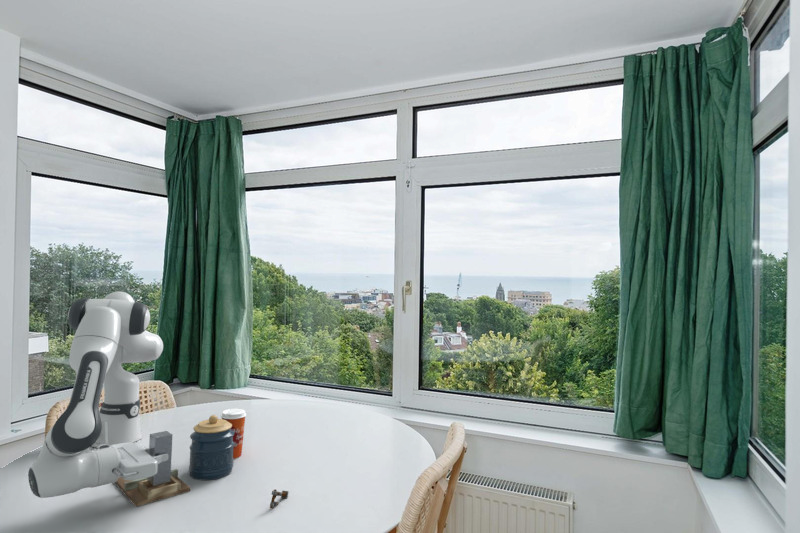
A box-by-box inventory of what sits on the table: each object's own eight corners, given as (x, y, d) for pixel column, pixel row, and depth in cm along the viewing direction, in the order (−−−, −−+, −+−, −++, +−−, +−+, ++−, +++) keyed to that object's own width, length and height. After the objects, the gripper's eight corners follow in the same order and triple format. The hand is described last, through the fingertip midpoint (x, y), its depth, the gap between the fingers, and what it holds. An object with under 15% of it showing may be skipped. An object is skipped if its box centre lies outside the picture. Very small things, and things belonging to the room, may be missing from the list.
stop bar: (153, 486, 129) (155, 438, 130) (147, 481, 132) (149, 434, 133) (170, 481, 132) (172, 434, 133) (164, 476, 136) (166, 430, 136)
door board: (136, 506, 125) (136, 495, 125) (114, 482, 139) (114, 471, 139) (190, 490, 135) (190, 480, 135) (164, 469, 149) (165, 459, 149)
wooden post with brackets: (266, 507, 125) (270, 488, 126) (279, 507, 132) (283, 489, 133) (272, 508, 124) (276, 489, 126) (285, 508, 131) (288, 490, 133)
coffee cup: (236, 461, 157) (238, 415, 157) (214, 458, 158) (216, 413, 159) (249, 452, 165) (251, 409, 165) (228, 450, 167) (229, 407, 167)
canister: (206, 484, 139) (208, 424, 139) (179, 474, 146) (181, 416, 146) (242, 470, 150) (244, 414, 150) (215, 461, 157) (217, 407, 157)
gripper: (119, 465, 116) (178, 452, 126) (98, 443, 131) (151, 433, 141) (118, 491, 116) (177, 476, 126) (97, 466, 131) (150, 454, 140)
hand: (163, 453), depth 133 cm, fingers closed on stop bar, 4 cm apart
